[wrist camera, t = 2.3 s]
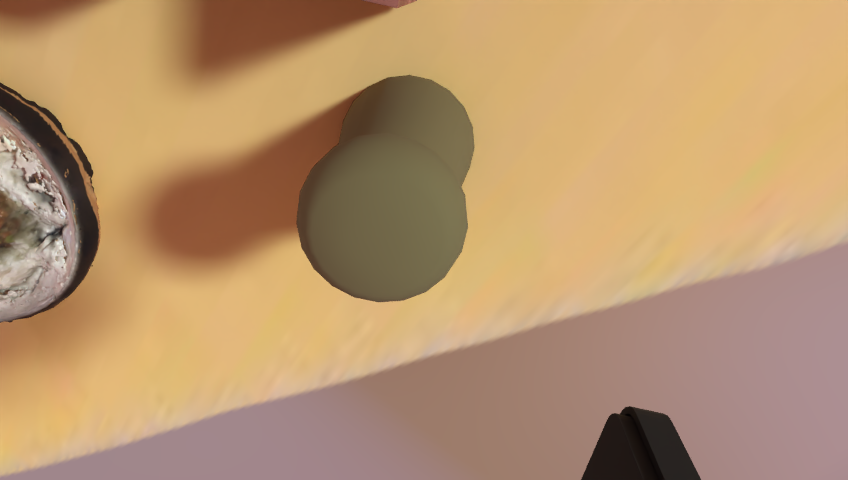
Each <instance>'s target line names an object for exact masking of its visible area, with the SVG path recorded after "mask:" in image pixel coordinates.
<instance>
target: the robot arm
mask: <svg viewBox="0 0 848 480" xmlns="http://www.w3.org/2000/svg"><path fill="white" fill-rule="evenodd" d="M581 480H701V479H700V477H699V475H698V473H697V471H696V469H695V467H694V465H693V463H692V461H691V459H690V457H689V455H688V453H687V451H686V449H685V447H684V445H683V443H682V441H681V439H680V437H679V435H678V433H677V431H676V429H675V427H674V425H673V423H672V422H671V420H670V418H669V417H668V416H667V415H665V414H662V413H658V412H653V411H649V410H643V409H639V408H635V407H630V406H629V407H625V408H624V409H623V410H622V412H621V413H620V414H616V413H614V414H611V415H610V416H609V418H608V420H607V422H606V424H605V426H604V428H603V431H602V433H601V436H600V438H599V440H598V442H597V445H596V447H595V449H594V451H593V454H592V456H591V458H590V461H589V463H588V465H587V468H586V470H585V472H584V474H583V477H582V479H581Z"/></svg>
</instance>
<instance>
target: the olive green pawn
mask: <svg viewBox="0 0 848 480" xmlns="http://www.w3.org/2000/svg"><path fill="white" fill-rule="evenodd" d="M473 151H474V137H473V127H472V124H471V122H470V120H469V117H468V115H467V113H466V110H465V108H464V106H463V105H462V104H461V103H460V102H459V101H458V100H457V98H456V97H455V96H454V95H453V94H452V93H451V92H450V91H449V90H447V89H446V88H444V87H442V86H441V85H439V84H437V83H436V82H434V81H432V80H429V79H425V78H420V77H416V76H411V75H407V76H398V77H389V78H386V79H384V80H382V81H379V82H377V83H375V84H373V85H371V86H369V87H368V88H367V89H365V90H364V91H363V92H362V93H361V94H360V95H359V96H358V97H357V98H356V99H355V100H354V101H353V103H352V105H351V107H350V109H349V111H348V113H347V114H346V116H345V118H344V121H343V125H342V130H341V134H340V139H339V143H338V145H337V146H335V147H334V148H333V149H331V150H330V151H329V152H328V153H327V154H326V155H325V156H324V157H323V158H322V159H321V160H320V161H319V162H318V163H317V164H316V165H315V166H314V167H313V168H312V169H311V171H310V173H309V175H308V177H307V179H306V181H305V183H304V185H303V187H302V189H301V191H300V196H299V204H298V212H297V228H298V233H299V237H300V242H301V247H302V249H303V251H304V252H305V254H306V256H307V258H308V259H309V261H310V263H311V265H312V266H313V268H314V269H315V270H316V271H317V272H318V273H319V274H320V275H321V276H322V277H323V278H324V279H325V280H326V281H327V282H329V283H330V284H331V285H332V286H333V287H335V288H337V289H339V290H341V291H343V292H345V293H347V294H349V295H351V296H353V297H356V298H361V299H365V300H370V301H375V302H388V301H402V300H406V299H408V298H411V297H414V296H416V295H419V294H422V293H424V292H426V291H428V290H429V289H430V288H431V287H433V286H434V285H435V284H437V283H438V282H439V281H440V280H442V279H443V278H444V277H445V276H446V274H447V273H448V271H449V270H450V268H451V267H452V265H453V264H454V262H455V261H456V259H457V258H458V256H459V255H460V253H461V252H462V248H463V244H464V240H465V237H466V233H467V229H468V223H467V212H466V201H465V194H464V192H463V190H462V188H461V186H462V184H463V182H464V179H465V177H466V175H467V172H468V170H469V168H470V164H471V160H472V156H473Z"/></svg>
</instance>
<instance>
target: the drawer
mask: <svg viewBox="0 0 848 480" xmlns="http://www.w3.org/2000/svg"><path fill="white" fill-rule="evenodd" d="M363 1H368V2H372V3H377V4H381V5H386V6H390V7H394V8H399V7H401V6H404V5H407V4H409V3H412V2H415V1H417V0H363Z"/></svg>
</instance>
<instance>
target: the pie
mask: <svg viewBox="0 0 848 480" xmlns="http://www.w3.org/2000/svg"><path fill="white" fill-rule="evenodd" d="M92 175H93V170H92V169H91V164H90V163H89V161H88V160H87V157H86V155H85V154H84V152H83V150H82V148H81V147H80V145H79V144H78V143H77V142H75V141H74V140H73V139H70V138H68V137H67V136H66V133H65V132H64V130H63V128H62V125H61V123H60V122H59V121H58V119H57V118H56V117H55V116H54V115H53V114H52V113H51V112H50V111H49V110H47V109H45V108H42V107H40V106H38V105H37V104H36V103H35V102H33V101H29V100H26V99H25V98H23V97H22V96H21V95H20V94H19V93H17V92H16V91H14V90H13V89H11V88H9V87H7V86H5V85H3V84H2V83H0V323H1V322H3V321H6V322H12V321H13V320H16V319H23V318H29V317H32V316H34V315H36V314H38V313H41V312H44V311H46V310H49V309H51V308H53V307H55V306H56V305H57V304H59V303H60V302H61V301H62V300H64V299H65V298H67V297H68V296H69V295H70V294H71V293H72V292H73V291H74V290H75V289H76V288H77V287H78V285H79V284H80V283H81V282H82V280H83V279H84V278H85V276H86V274H87V272H88V271H89V269H90V266H91V264H92V262H93V260H94V258H95V256H96V253H97V250H98V246H99V242H100V220H99V214H98V206H97V202H96V201H97V198H96V196H95V193H94V188H93V187H92V180H91V177H92ZM11 198H12V199H11Z"/></svg>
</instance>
